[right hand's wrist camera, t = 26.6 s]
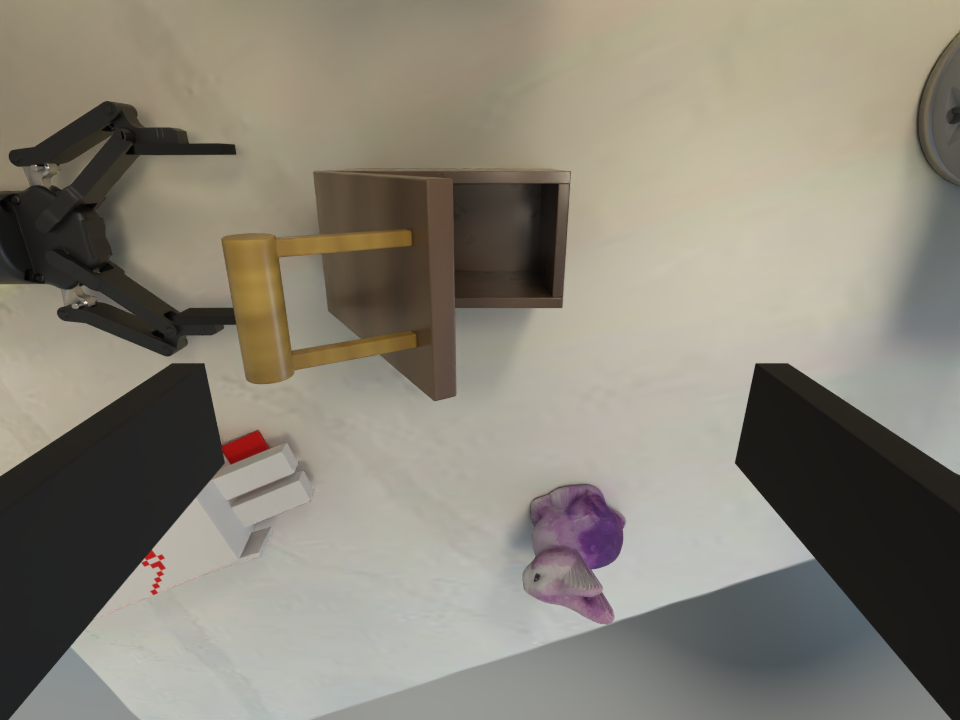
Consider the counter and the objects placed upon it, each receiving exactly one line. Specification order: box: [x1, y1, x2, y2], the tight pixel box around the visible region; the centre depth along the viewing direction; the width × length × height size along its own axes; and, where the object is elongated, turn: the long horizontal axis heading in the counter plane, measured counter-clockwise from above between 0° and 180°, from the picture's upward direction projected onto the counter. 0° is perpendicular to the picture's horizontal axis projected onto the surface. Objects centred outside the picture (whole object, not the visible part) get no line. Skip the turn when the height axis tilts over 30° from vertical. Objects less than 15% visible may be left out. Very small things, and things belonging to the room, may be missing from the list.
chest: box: [332, 169, 571, 308], centre depth 44 cm, size 18×10×11 cm, turn 90°
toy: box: [94, 430, 314, 619], centre depth 55 cm, size 12×13×30 cm
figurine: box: [523, 485, 626, 625], centre depth 54 cm, size 9×10×15 cm
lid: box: [221, 171, 456, 401], centre depth 29 cm, size 18×10×9 cm
